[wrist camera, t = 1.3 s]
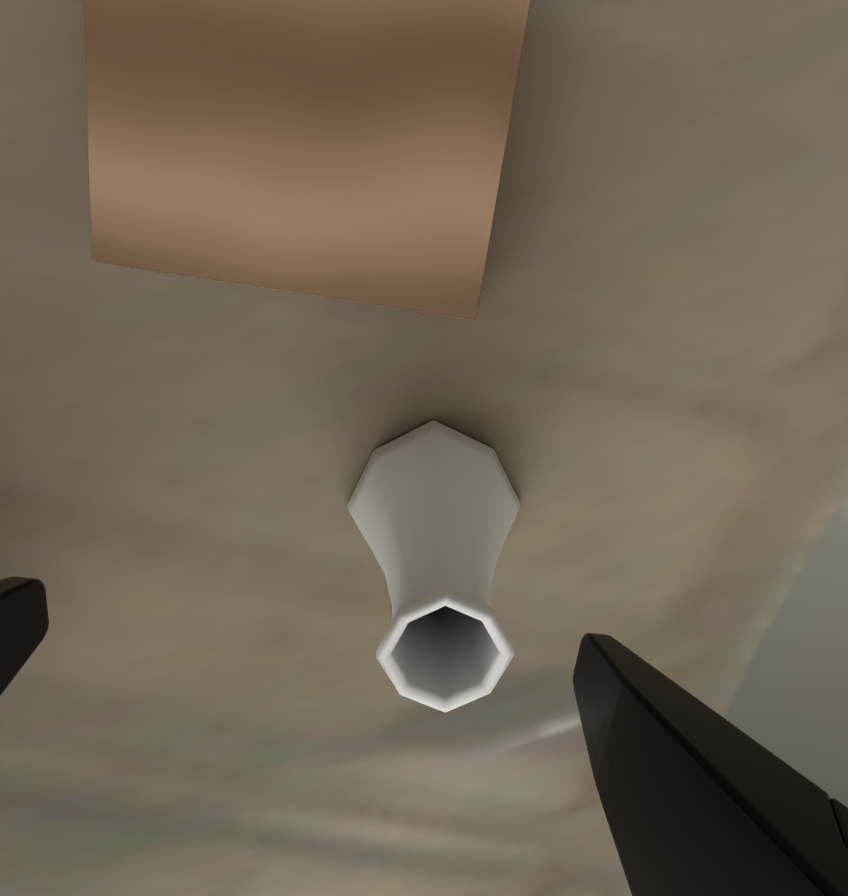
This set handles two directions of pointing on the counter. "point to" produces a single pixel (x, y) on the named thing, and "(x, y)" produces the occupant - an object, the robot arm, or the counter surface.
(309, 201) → the walnut block
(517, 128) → the counter surface
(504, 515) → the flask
